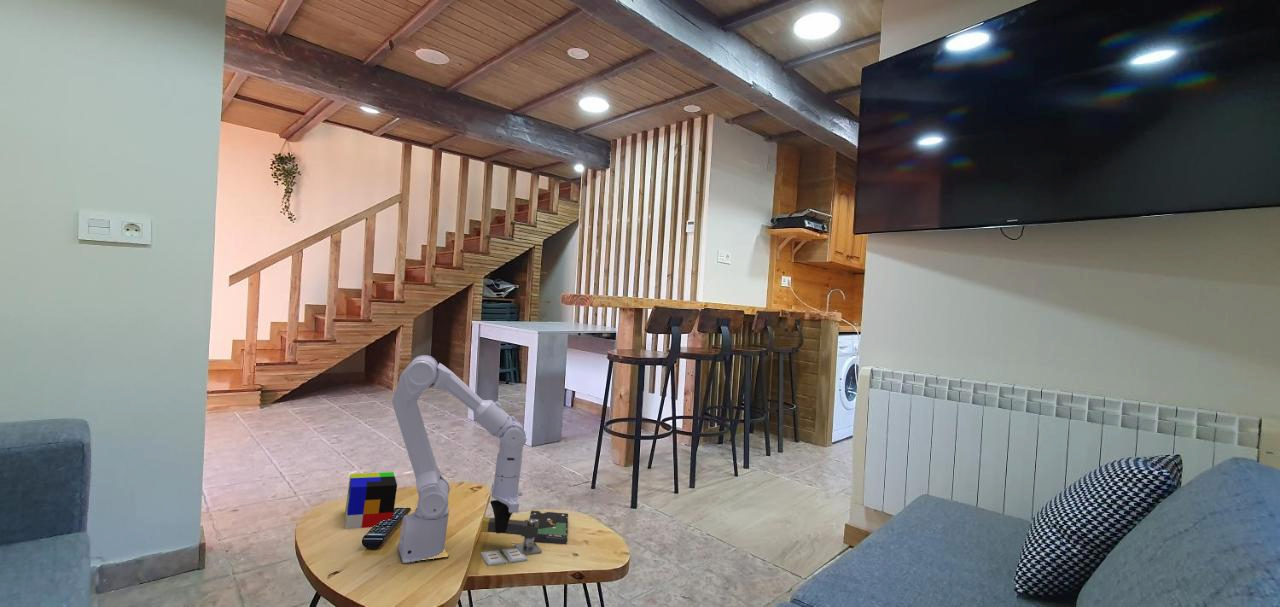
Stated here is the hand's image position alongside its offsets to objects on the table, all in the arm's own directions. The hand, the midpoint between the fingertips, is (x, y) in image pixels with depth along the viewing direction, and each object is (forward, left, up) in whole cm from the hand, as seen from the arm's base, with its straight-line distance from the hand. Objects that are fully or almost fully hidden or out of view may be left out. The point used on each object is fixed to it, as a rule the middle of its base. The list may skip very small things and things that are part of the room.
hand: (500, 532), depth 123 cm
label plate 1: (-2, -3, -4) cm, 6 cm away
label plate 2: (+3, -3, -4) cm, 6 cm away
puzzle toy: (-25, +26, -5) cm, 36 cm away
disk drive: (+15, +8, -5) cm, 18 cm away
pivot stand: (+7, -1, -4) cm, 8 cm away
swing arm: (+3, +1, -1) cm, 3 cm away
